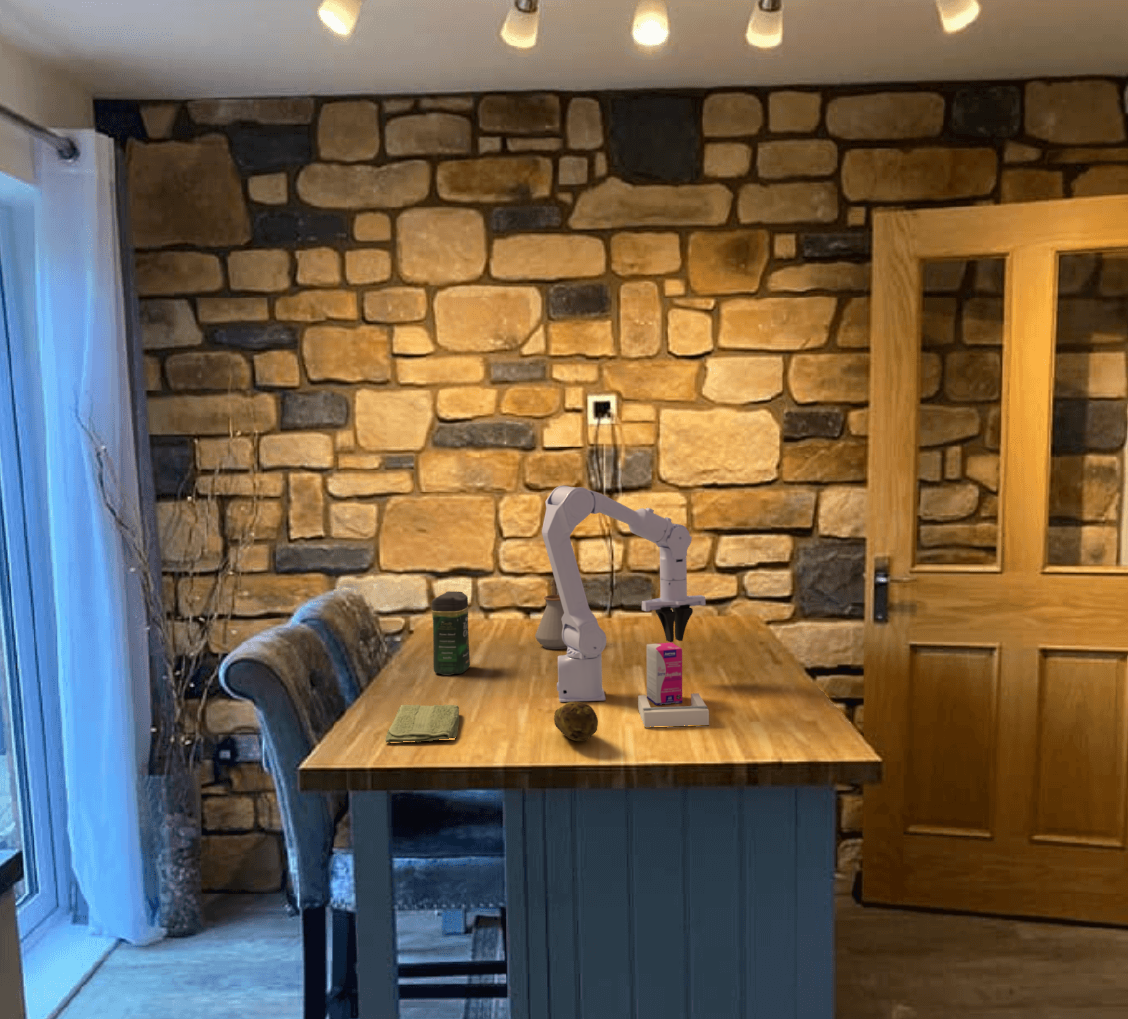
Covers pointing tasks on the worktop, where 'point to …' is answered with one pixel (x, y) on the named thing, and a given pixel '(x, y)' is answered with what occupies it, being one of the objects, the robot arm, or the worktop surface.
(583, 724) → the potato
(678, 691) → the supplement box
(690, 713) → the dock
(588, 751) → the worktop surface
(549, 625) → the coffee pot
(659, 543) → the robot arm
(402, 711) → the washcloth
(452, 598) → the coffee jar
